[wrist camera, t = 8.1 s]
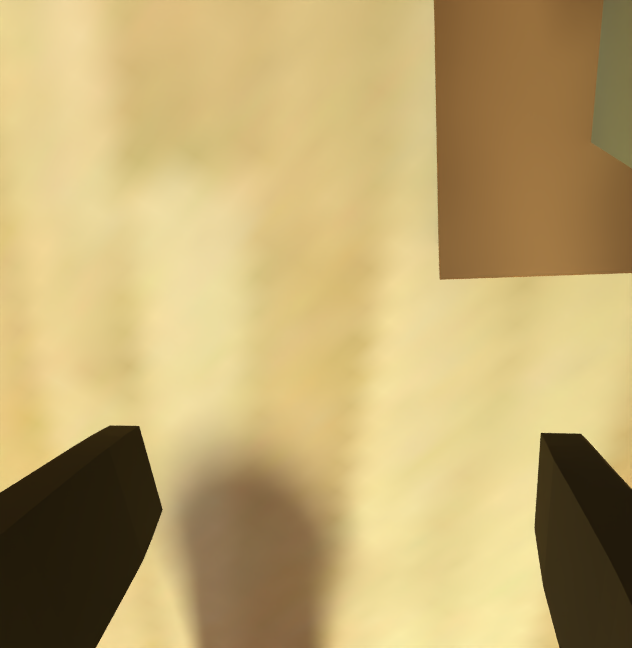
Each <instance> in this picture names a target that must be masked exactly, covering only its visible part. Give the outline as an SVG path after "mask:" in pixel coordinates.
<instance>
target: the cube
mask: <svg viewBox="0 0 632 648" xmlns="http://www.w3.org/2000/svg"><path fill="white" fill-rule="evenodd" d="M591 143H593V144H594V145H596V146H597V147H599V148H601V149H602V150H604V151H605V152H607V153H608V154H610V155H612V156H613V157H615V158H616V159H618V160H619V161H621V162H623V163H624V164H626V165H627V166H629V167H630V168H632V0H604V1H603V12H602V24H601V35H600V46H599V58H598V69H597V80H596V91H595V103H594V114H593V125H592V137H591Z"/></svg>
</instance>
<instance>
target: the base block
mask: <svg viewBox="0 0 632 648" xmlns="http://www.w3.org/2000/svg"><path fill="white" fill-rule="evenodd" d="M603 1H604V0H434V21H435V74H436V127H437V181H438V234H439V271H440V280H441V279H470V278H499V277H527V276H556V275H585V274H613V273H632V168H630V167H629V166H627V165H626V164H624V163H623V162H621V161H619V160H618V159H616V158H615V157H613V156H612V155H610V154H608V153H607V152H605V151H604V150H602V149H601V148H599V147H597V146H596V145H594V144H593V143H591V137H592V125H593V114H594V103H595V91H596V80H597V69H598V58H599V46H600V35H601V24H602V12H603Z"/></svg>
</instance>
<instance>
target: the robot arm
mask: <svg viewBox="0 0 632 648" xmlns="http://www.w3.org/2000/svg"><path fill="white" fill-rule="evenodd" d="M162 510H163V509H162V506H161V502H160V499H159V495H158V492H157V488H156V485H155V481H154V477H153V474H152V470H151V467H150V463H149V460H148V456H147V452H146V449H145V445H144V442H143V438H142V435H141V431H140V427H139V426H108V427H106V428H105V429H103V430H101V431H99V432H97V433H95V434H93V435H92V436H90V437H88V438H87V439H85V440H83V441H82V442H80V443H78V444H77V445H75V446H74V447H72V448H70V449H69V450H67V451H66V452H64V453H62V454H61V455H59V456H58V457H56V458H54V459H53V460H51V461H50V462H48V463H47V464H45V465H43V466H42V467H40V468H39V469H37V470H36V471H34V472H32V473H31V474H29V475H28V476H26V477H24V478H23V479H21V480H20V481H18V482H17V483H15V484H13V485H12V486H10V487H9V488H7V489H5V490H4V491H2V492H1V493H0V648H96V646H97V645H98V643H99V641H100V639H101V637H102V635H103V634H104V632H105V630H106V628H107V626H108V624H109V623H110V621H111V619H112V617H113V615H114V614H115V612H116V610H117V608H118V606H119V604H120V603H121V601H122V599H123V597H124V595H125V593H126V592H127V590H128V588H129V586H130V584H131V582H132V580H133V578H134V577H135V575H136V573H137V571H138V569H139V567H140V565H141V563H142V561H143V559H144V557H145V554H146V552H147V550H148V547H149V545H150V542H151V540H152V537H153V535H154V532H155V529H156V526H157V523H158V521H159V518H160V515H161V512H162ZM535 535H536V542H537V549H538V555H539V562H540V569H541V575H542V581H543V587H544V591H545V595H546V599H547V603H548V606H549V610H550V614H551V618H552V622H553V625H554V629H555V633H556V637H557V640H558V644H559V648H632V489H631V488H630V487H629V486H628V485H627V483H626V482H625V481H624V480H623V479H622V478H621V477H620V476H619V475H618V474H617V473H616V472H615V470H614V469H613V468H612V467H611V466H610V465H609V464H608V463H607V462H606V460H605V459H604V458H603V457H602V456H601V455H600V454H599V453H598V451H597V450H596V449H595V448H594V447H593V446H592V445H591V444H590V443H589V441H588V440H587V439H586V438H585V437H584V436H583V435H582V434H566V433H541V439H540V453H539V468H538V483H537V498H536V513H535Z"/></svg>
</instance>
